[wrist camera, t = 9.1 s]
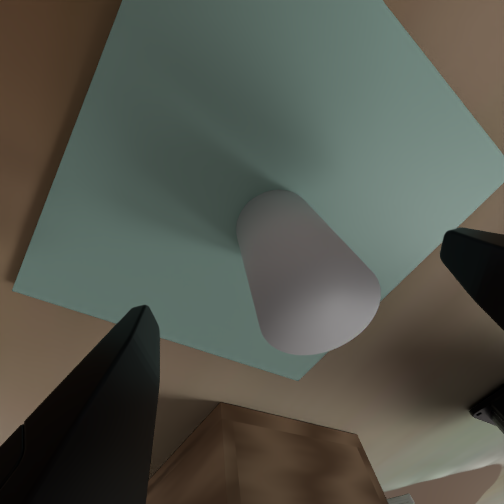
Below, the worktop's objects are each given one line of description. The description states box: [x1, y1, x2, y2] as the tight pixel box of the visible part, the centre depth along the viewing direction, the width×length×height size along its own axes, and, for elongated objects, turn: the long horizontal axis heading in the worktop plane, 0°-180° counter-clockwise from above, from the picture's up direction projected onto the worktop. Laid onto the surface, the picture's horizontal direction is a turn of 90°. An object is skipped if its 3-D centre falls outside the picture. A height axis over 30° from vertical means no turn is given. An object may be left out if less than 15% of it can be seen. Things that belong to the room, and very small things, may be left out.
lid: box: [12, 0, 504, 381], centre depth 10 cm, size 15×15×6 cm
